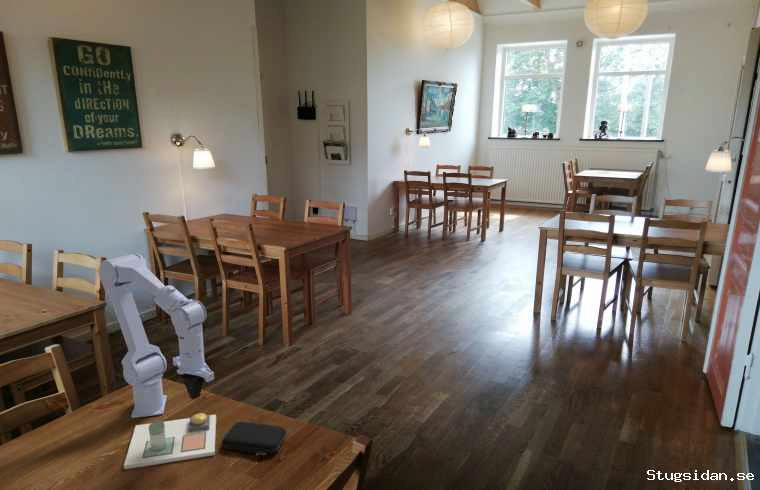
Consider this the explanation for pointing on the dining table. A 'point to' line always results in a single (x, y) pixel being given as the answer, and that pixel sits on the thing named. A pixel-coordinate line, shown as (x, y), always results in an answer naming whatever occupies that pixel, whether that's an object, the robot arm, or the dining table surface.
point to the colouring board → (173, 443)
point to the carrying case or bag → (254, 438)
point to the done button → (199, 419)
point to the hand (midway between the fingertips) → (195, 397)
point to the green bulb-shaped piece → (157, 436)
